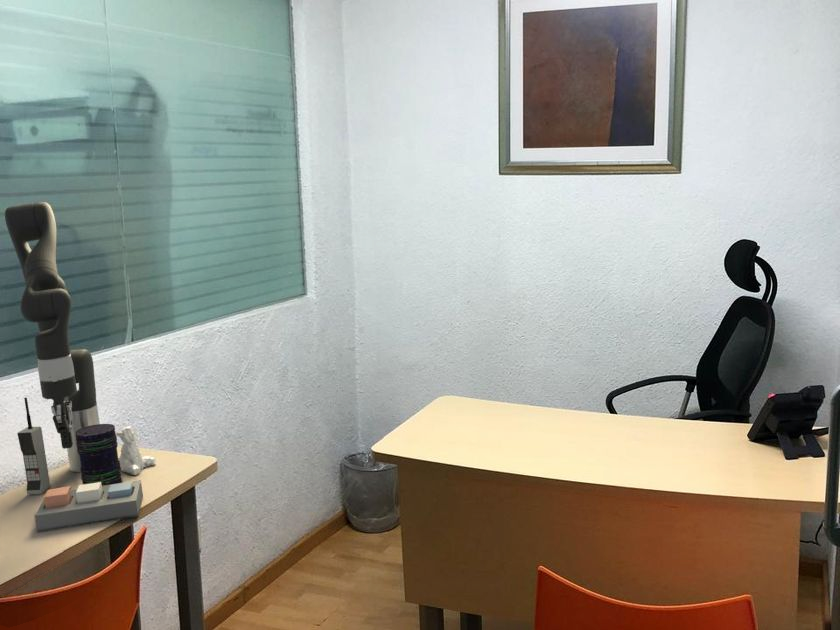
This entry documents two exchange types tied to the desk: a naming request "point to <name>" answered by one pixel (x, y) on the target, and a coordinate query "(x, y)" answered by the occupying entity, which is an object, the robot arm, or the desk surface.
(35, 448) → the vintage mobile phone
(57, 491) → the orange block
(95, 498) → the white key
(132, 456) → the sitting furry creature
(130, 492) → the blue-grey block
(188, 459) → the desk surface
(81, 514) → the key console
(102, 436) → the storage jar
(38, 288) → the robot arm
